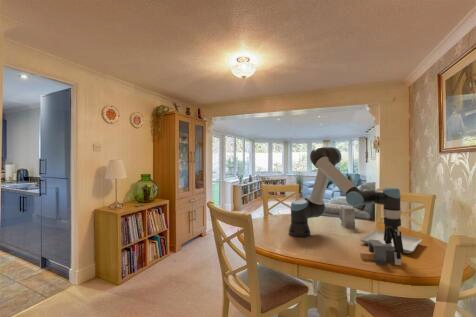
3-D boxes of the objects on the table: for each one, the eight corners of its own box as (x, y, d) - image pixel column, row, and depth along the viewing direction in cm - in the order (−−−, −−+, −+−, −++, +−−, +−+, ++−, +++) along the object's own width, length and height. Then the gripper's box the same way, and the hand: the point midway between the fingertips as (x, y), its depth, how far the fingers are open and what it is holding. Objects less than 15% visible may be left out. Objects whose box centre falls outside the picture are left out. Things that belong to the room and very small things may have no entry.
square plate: (374, 234, 161) (374, 229, 161) (423, 245, 140) (423, 238, 140) (359, 244, 143) (359, 238, 143) (413, 257, 122) (412, 250, 122)
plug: (361, 259, 120) (361, 248, 120) (359, 255, 124) (359, 245, 124) (404, 263, 115) (403, 251, 115) (399, 259, 120) (399, 247, 120)
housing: (376, 264, 114) (376, 247, 114) (367, 253, 127) (367, 238, 127) (387, 265, 113) (387, 247, 113) (377, 254, 126) (377, 238, 126)
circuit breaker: (348, 223, 190) (347, 205, 190) (355, 227, 176) (354, 208, 176) (338, 222, 191) (338, 205, 191) (345, 227, 177) (344, 208, 177)
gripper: (411, 223, 107) (412, 271, 106) (390, 212, 129) (391, 252, 128) (393, 222, 108) (394, 269, 108) (376, 212, 131) (377, 251, 130)
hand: (393, 260), depth 118 cm, fingers open, 10 cm apart
